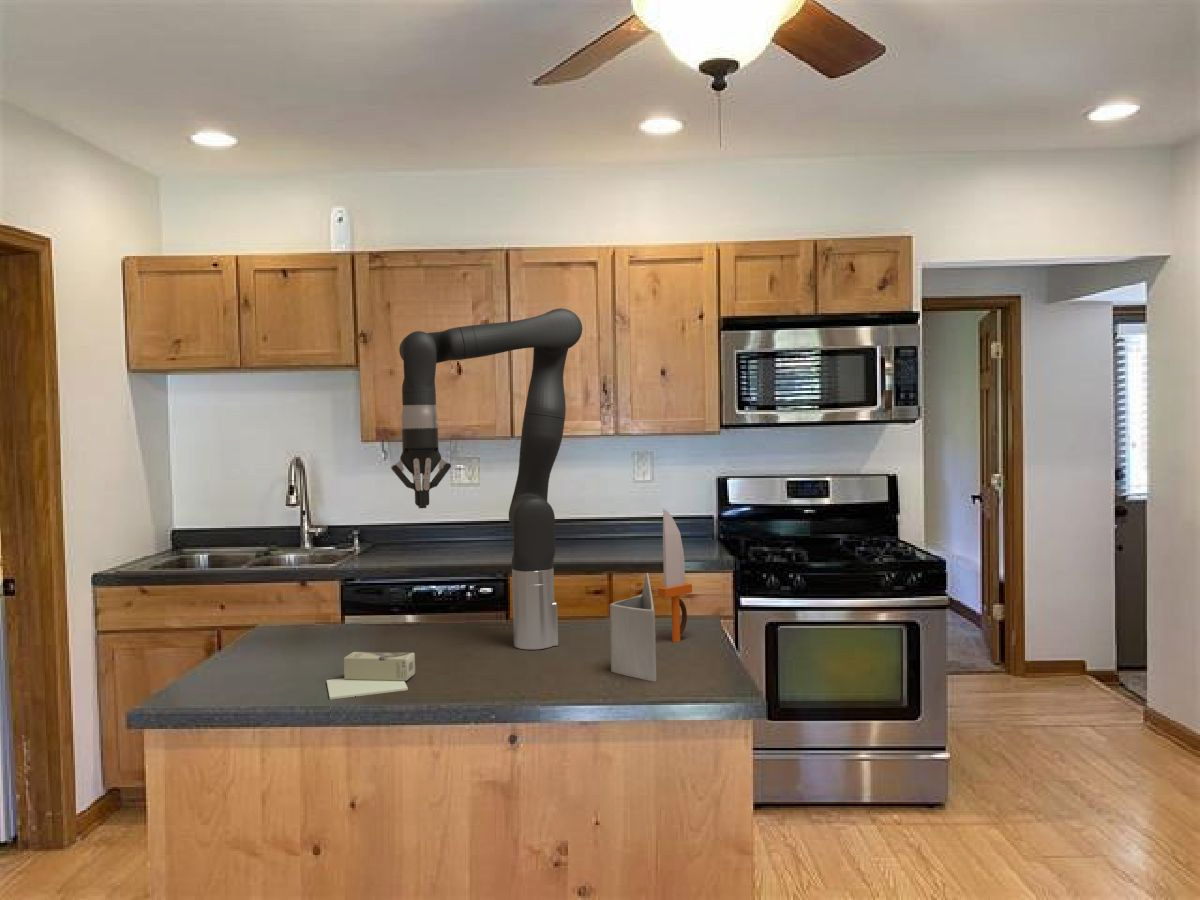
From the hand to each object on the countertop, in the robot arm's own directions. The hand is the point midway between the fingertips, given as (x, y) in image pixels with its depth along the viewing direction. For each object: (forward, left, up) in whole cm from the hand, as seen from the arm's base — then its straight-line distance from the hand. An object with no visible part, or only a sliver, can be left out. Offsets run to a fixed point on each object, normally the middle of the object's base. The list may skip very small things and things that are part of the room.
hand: (422, 507), depth 190 cm
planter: (-36, +28, -32) cm, 56 cm away
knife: (-54, +10, -32) cm, 64 cm away
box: (+5, +16, -30) cm, 34 cm away
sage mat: (+14, +17, -32) cm, 39 cm away
